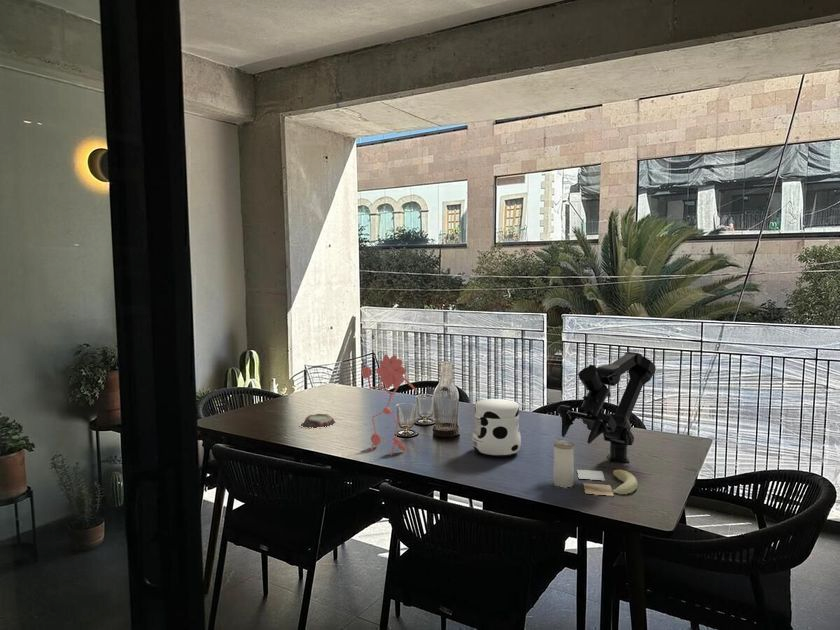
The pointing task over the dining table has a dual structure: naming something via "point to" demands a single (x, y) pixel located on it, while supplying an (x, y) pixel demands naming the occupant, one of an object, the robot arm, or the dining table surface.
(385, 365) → the pink blossom sprig
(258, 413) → the dining table surface
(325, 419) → the quiche
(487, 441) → the milk container
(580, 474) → the grey square tile
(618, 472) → the fruit
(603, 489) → the cork coaster
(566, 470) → the tumbler
